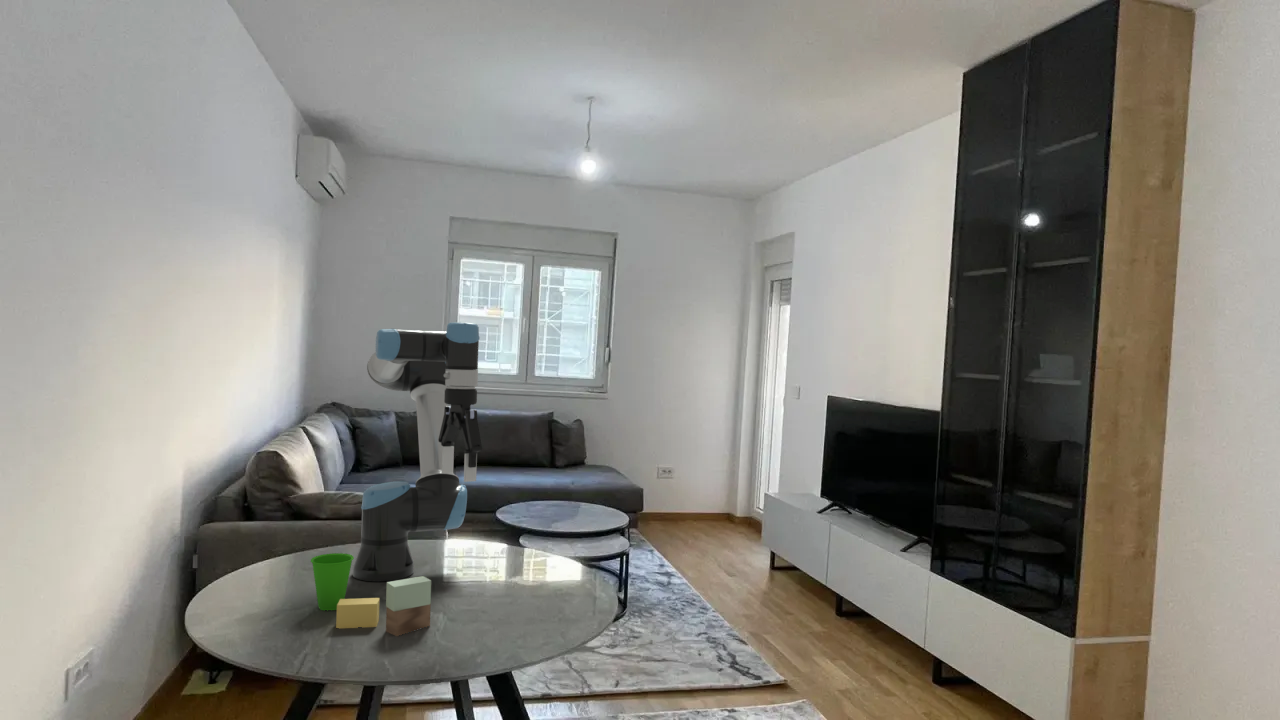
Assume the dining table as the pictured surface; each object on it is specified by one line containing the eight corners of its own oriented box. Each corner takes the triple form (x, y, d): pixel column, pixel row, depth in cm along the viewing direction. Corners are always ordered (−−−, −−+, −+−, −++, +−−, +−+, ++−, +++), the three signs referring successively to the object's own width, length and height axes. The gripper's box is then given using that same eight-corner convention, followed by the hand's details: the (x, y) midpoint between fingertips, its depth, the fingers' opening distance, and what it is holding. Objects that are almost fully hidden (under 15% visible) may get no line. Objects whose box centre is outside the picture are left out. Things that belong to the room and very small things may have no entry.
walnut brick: (396, 636, 154) (397, 612, 154) (385, 631, 156) (386, 607, 156) (430, 626, 160) (430, 602, 160) (418, 621, 162) (419, 598, 162)
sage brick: (393, 611, 154) (394, 587, 154) (385, 606, 157) (386, 582, 157) (430, 604, 159) (431, 580, 159) (422, 599, 162) (422, 576, 162)
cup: (360, 603, 173) (362, 555, 173) (332, 616, 164) (334, 565, 164) (329, 598, 176) (330, 551, 176) (299, 610, 167) (301, 560, 167)
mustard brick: (336, 629, 157) (336, 605, 157) (339, 622, 161) (340, 599, 161) (376, 627, 159) (377, 603, 159) (378, 620, 162) (379, 597, 162)
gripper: (426, 385, 186) (424, 470, 186) (467, 390, 166) (464, 486, 166) (455, 385, 191) (453, 468, 191) (498, 390, 171) (495, 483, 171)
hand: (458, 477), depth 179 cm, fingers open, 13 cm apart
